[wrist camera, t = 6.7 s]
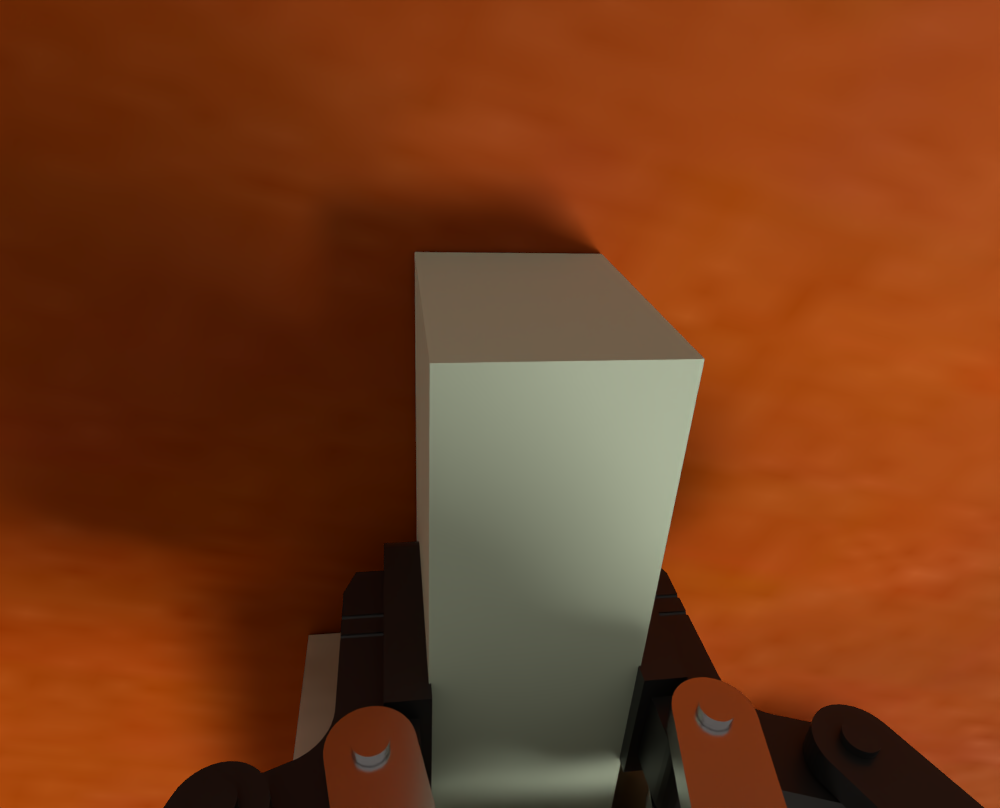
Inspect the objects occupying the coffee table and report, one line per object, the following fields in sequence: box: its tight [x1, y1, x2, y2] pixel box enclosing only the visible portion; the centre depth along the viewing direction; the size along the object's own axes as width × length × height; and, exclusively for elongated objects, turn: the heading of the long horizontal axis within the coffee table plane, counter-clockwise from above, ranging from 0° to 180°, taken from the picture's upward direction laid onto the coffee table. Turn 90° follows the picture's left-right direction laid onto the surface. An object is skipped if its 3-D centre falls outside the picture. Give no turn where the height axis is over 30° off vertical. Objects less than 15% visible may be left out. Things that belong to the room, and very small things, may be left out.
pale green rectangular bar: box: [415, 252, 704, 808], centre depth 13 cm, size 3×12×4 cm, turn 177°
